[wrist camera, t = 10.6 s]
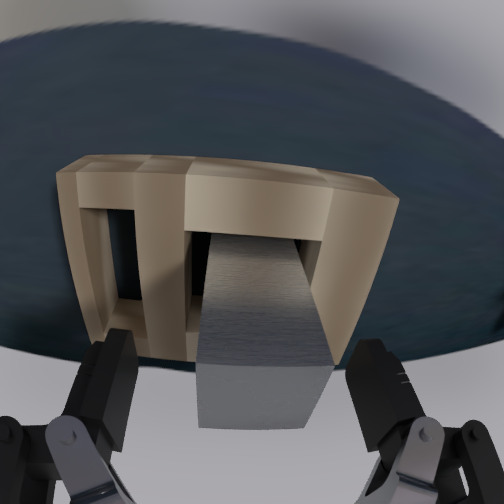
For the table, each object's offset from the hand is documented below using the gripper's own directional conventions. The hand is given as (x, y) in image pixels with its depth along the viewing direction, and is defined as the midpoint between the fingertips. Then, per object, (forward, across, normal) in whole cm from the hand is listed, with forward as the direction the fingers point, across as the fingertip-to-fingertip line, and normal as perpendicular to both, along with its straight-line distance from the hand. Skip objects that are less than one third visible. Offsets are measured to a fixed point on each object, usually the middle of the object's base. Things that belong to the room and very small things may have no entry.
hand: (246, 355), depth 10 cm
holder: (+7, +1, 0) cm, 7 cm away
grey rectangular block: (+7, 0, 0) cm, 7 cm away
